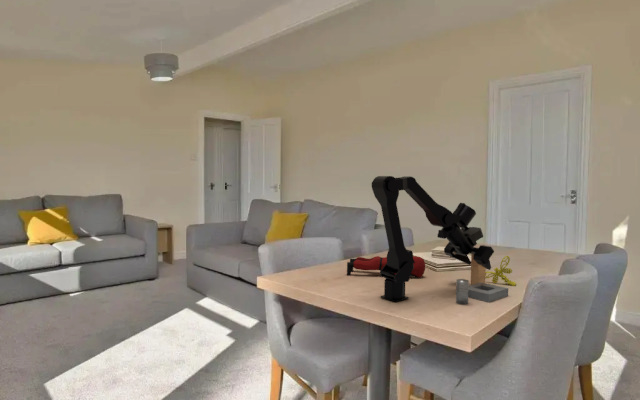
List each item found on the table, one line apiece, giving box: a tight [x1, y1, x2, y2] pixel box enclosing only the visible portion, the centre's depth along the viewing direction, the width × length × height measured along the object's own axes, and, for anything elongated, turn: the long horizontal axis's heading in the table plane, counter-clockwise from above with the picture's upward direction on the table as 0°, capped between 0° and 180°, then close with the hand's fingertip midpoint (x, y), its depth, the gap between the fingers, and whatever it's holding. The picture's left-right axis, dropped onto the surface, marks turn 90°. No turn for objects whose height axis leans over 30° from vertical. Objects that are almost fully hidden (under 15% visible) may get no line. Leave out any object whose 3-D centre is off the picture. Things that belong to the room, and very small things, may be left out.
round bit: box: [455, 278, 470, 306], centre depth 134 cm, size 4×4×7 cm
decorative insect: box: [485, 255, 517, 287], centre depth 158 cm, size 13×3×10 cm
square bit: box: [470, 254, 487, 285], centre depth 153 cm, size 3×3×12 cm
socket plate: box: [468, 282, 509, 303], centre depth 142 cm, size 12×10×2 cm
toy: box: [346, 255, 426, 279], centre depth 170 cm, size 28×8×30 cm
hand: (479, 266), depth 153 cm, fingers open, 9 cm apart
